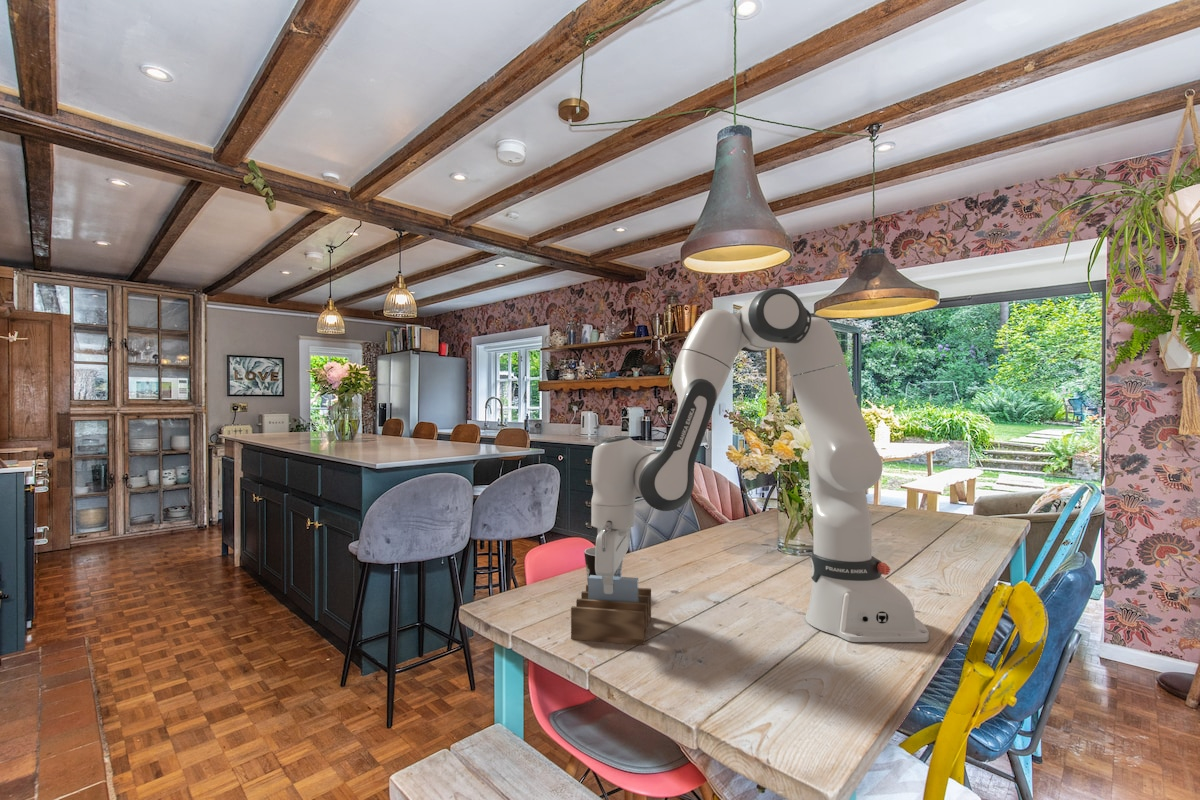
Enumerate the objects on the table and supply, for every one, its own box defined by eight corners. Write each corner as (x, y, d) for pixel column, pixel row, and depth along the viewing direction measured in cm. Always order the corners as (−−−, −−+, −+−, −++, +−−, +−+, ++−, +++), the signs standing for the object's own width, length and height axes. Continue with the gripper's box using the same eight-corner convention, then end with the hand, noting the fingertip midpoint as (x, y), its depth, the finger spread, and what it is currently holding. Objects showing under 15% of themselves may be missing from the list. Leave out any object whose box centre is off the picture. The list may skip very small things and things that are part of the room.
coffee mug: (616, 600, 127) (616, 557, 127) (580, 598, 129) (580, 555, 129) (624, 584, 139) (624, 544, 139) (591, 582, 140) (591, 542, 141)
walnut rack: (651, 616, 118) (651, 588, 118) (643, 645, 104) (643, 613, 104) (586, 612, 120) (586, 584, 120) (571, 638, 107) (571, 607, 107)
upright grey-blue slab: (638, 622, 112) (638, 577, 112) (637, 626, 110) (637, 581, 110) (590, 618, 114) (590, 574, 114) (588, 622, 112) (588, 577, 112)
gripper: (620, 528, 101) (620, 604, 101) (635, 507, 122) (635, 570, 121) (586, 527, 103) (586, 601, 103) (606, 506, 123) (606, 569, 123)
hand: (613, 584), depth 112 cm, fingers open, 8 cm apart
